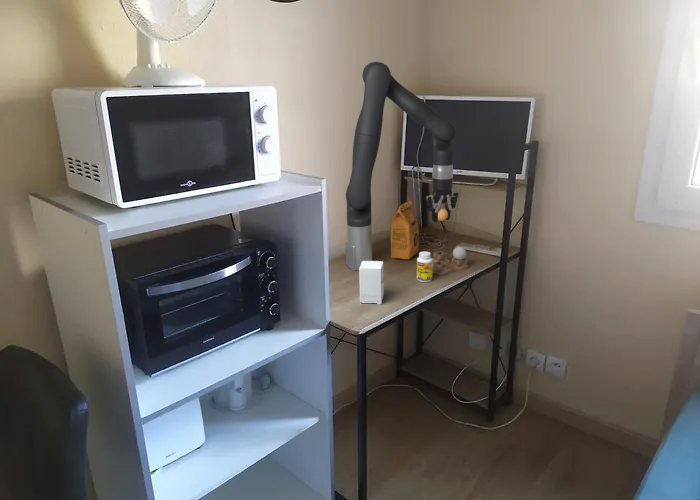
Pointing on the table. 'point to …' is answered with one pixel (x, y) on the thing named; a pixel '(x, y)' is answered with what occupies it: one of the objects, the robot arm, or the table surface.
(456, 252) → the ball grey
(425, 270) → the supplement bottle
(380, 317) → the table surface
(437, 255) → the stand single
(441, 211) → the ball orange
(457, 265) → the rack
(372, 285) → the supplement box
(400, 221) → the coffee package
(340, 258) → the table surface
